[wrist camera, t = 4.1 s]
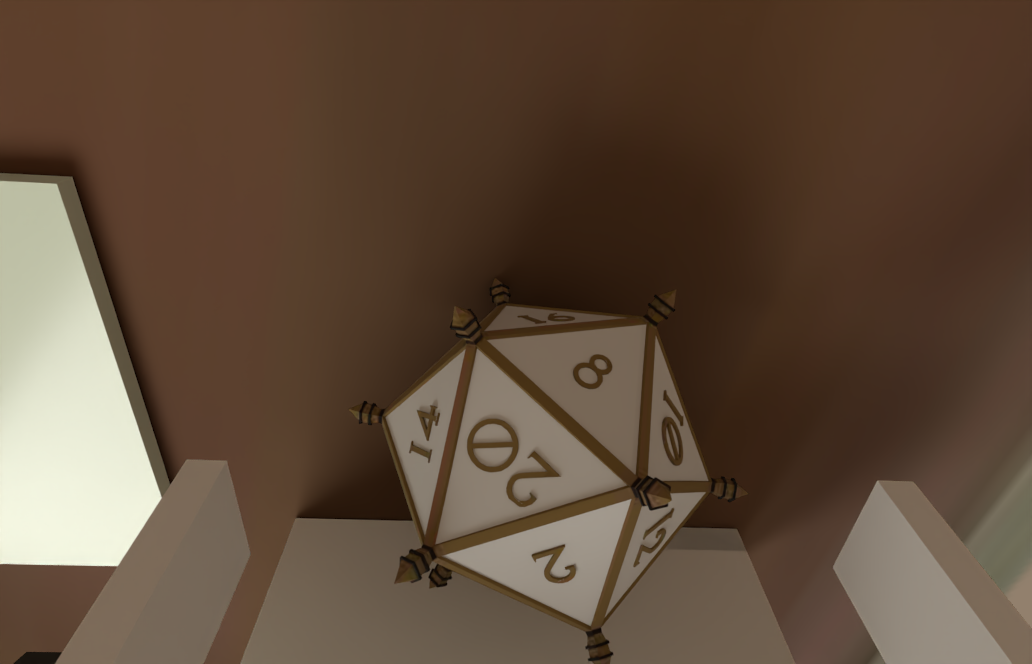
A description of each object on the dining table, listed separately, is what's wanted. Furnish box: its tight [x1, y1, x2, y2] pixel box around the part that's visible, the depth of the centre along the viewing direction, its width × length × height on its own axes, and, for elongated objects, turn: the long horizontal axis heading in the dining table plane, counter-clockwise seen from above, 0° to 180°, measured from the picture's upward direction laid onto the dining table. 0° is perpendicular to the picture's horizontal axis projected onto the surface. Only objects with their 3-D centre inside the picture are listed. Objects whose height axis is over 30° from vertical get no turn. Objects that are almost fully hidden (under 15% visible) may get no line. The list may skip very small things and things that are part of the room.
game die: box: [349, 278, 749, 664], centre depth 15 cm, size 9×8×10 cm
